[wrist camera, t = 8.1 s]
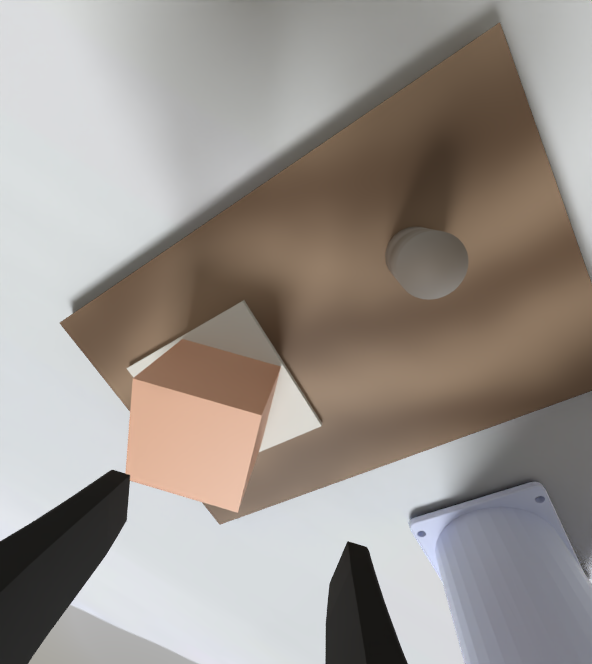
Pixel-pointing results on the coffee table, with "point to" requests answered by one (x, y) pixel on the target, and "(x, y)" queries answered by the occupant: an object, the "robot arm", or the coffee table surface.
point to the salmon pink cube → (199, 422)
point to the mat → (251, 341)
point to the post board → (384, 280)
